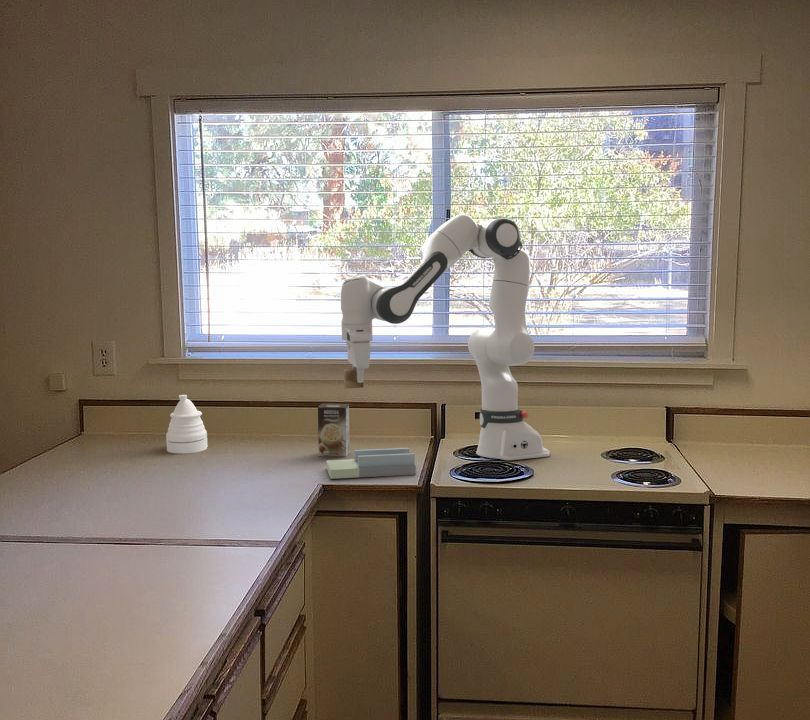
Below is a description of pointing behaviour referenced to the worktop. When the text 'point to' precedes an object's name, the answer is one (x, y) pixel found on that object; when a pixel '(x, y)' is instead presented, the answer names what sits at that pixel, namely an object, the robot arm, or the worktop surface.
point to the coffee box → (333, 429)
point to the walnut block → (351, 379)
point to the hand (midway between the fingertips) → (358, 380)
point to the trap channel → (374, 464)
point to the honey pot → (186, 429)
